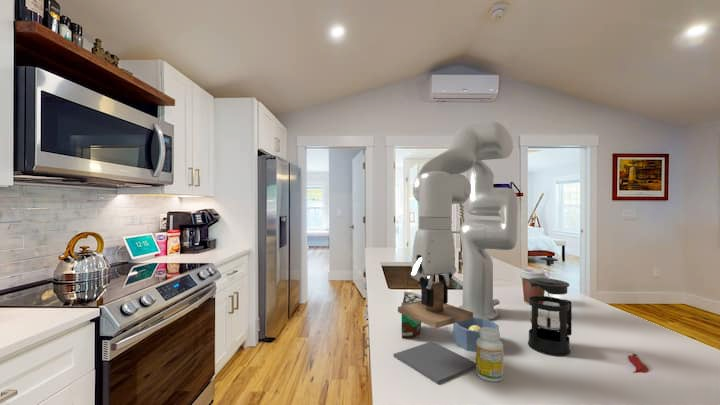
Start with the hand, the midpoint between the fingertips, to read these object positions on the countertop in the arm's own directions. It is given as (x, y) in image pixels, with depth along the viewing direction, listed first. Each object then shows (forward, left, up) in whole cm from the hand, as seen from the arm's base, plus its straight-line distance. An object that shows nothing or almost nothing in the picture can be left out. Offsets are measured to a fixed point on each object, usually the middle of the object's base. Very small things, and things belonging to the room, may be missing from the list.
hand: (434, 302), depth 73 cm
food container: (-8, -15, -14) cm, 22 cm away
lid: (0, 0, -3) cm, 3 cm away
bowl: (-17, -1, -14) cm, 22 cm away
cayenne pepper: (-39, +26, -14) cm, 49 cm away
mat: (0, 0, -14) cm, 14 cm away
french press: (-31, +11, -14) cm, 35 cm away
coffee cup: (-65, -11, -14) cm, 67 cm away
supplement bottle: (-5, +11, -14) cm, 18 cm away
